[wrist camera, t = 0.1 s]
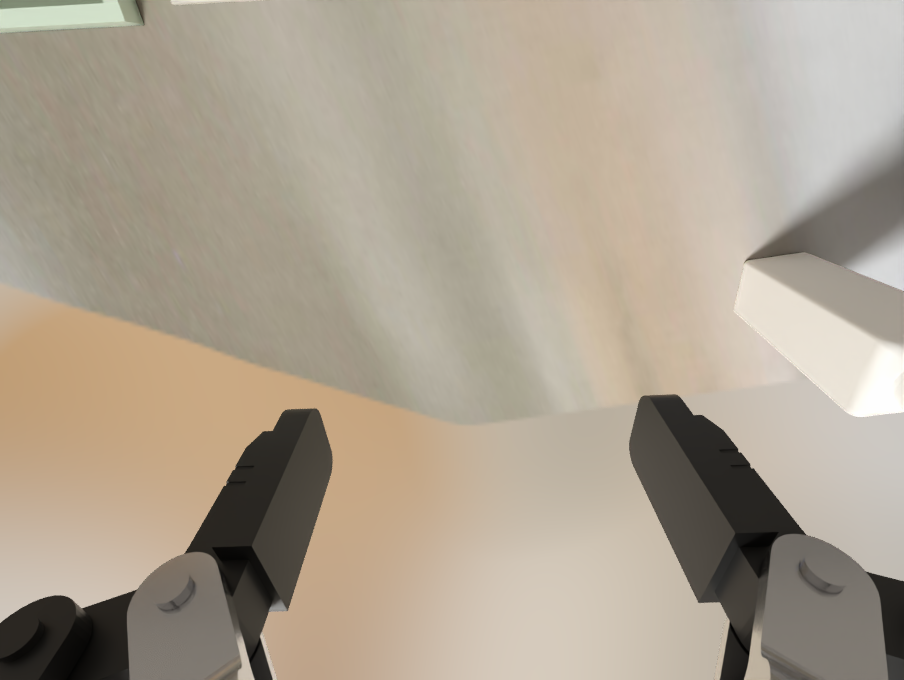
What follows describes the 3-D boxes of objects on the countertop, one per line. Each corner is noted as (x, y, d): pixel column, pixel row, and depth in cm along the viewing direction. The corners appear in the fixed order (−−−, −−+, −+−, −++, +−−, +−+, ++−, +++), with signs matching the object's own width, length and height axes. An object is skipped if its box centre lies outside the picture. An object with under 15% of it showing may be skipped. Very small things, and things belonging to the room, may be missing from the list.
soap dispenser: (793, 307, 41) (1076, 488, 22) (726, 316, 42) (948, 500, 23) (812, 245, 38) (1166, 399, 19) (739, 256, 38) (1012, 415, 20)
